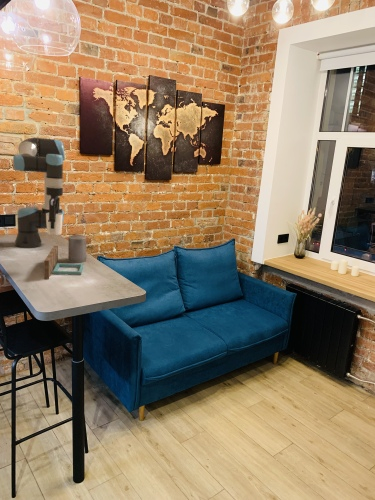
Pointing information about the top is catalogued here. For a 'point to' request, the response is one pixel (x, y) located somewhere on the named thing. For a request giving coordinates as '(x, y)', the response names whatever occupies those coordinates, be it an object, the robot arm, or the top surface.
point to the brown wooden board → (50, 262)
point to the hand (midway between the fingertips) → (54, 233)
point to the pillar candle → (77, 248)
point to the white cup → (58, 223)
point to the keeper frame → (68, 271)
